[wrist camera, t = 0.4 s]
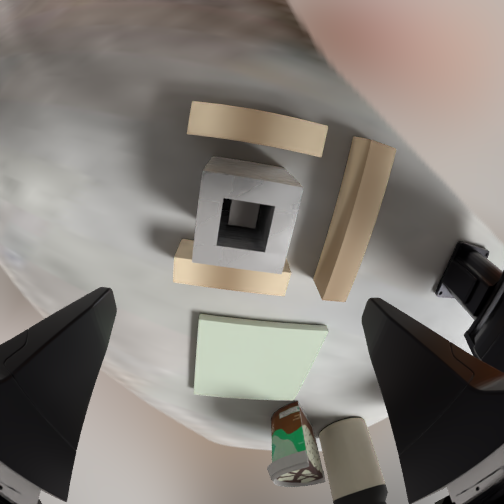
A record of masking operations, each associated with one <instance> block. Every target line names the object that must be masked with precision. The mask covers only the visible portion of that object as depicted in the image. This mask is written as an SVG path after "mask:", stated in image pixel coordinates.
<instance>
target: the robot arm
mask: <svg viewBox="0 0 504 504" xmlns="http://www.w3.org/2000/svg"><path fill="white" fill-rule="evenodd" d="M488 255H489V251H488V250H487V249H484V248H481V247H478V246H475V245H471V244H468V243H465V242H462V241H460V242H458V244H457V246H456V248H455V250H454V253H453V255H452V258H451V260H450V262H449V264H448V267H447V269H446V271H445V273H444V275H443V277H442V280H441V282H440V284H439V286H438V288H437V290H436V292H435V294H436V295H437V296H438V297H446V298H455V299H456V300H457V301H458V302H459V303H460V304H461V305H462V307H463V308H464V309H465V310H466V311H467V312H468V313H469V314H470V316H471V317H472V318H473V319H474V320H475V321H474V322H473V324H472V325H471V327H470V328H469V329H468V331H466V332H465V334H464V337H465V338H466V340H467V343H468V345H469V347H470V349H471V352H472V354H473V356H472V355H471V354H469V353H467V352H466V351H464V350H462V349H461V348H459V347H457V346H456V345H454V344H453V343H451V342H449V341H448V340H447V339H445V338H443V337H442V336H440V335H439V334H437V333H436V332H434V331H432V330H431V329H429V328H428V327H426V326H424V325H423V324H421V323H420V322H418V321H416V320H415V319H413V318H412V317H410V316H408V315H407V314H405V313H404V312H402V311H400V310H399V309H397V308H395V307H394V306H392V305H391V304H389V303H387V302H386V301H384V300H382V299H381V298H370V299H368V301H367V304H366V306H365V309H364V312H363V315H362V325H363V329H364V333H365V338H366V342H367V346H368V351H369V355H370V358H371V362H372V365H373V368H374V371H375V374H376V377H377V380H378V383H379V386H380V389H381V393H382V396H383V399H384V403H385V406H386V409H387V413H388V416H389V420H390V423H391V427H392V431H393V435H394V439H395V442H396V446H397V450H398V454H399V459H400V464H401V468H402V472H403V477H404V482H405V487H406V492H407V497H408V502H409V504H412V503H414V502H417V501H419V500H421V499H423V498H425V497H427V496H429V495H431V494H434V493H435V492H438V491H440V490H442V489H443V488H445V487H447V489H448V492H449V496H447V497H445V498H443V499H441V500H439V501H437V502H436V503H435V504H504V271H503V272H502V271H501V270H500V269H499V268H498V267H496V266H495V265H494V264H493V263H492V262H490V261H489V260H488V259H487V258H488ZM116 312H117V308H116V303H115V299H114V295H113V291H112V289H111V288H106V287H100V288H98V289H96V290H94V291H93V292H91V293H89V294H87V295H85V296H84V297H82V298H80V299H78V300H77V301H75V302H73V303H71V304H70V305H68V306H66V307H64V308H63V309H61V310H59V311H57V312H56V313H54V314H52V315H51V316H49V317H47V318H45V319H44V320H42V321H40V322H39V323H37V324H35V325H34V326H32V327H30V328H29V330H28V329H27V330H25V331H24V332H22V333H20V334H19V335H17V336H15V337H14V338H12V339H10V340H8V341H7V342H5V343H3V344H1V345H0V504H42V503H41V501H40V500H39V494H40V491H41V490H42V491H44V492H46V493H48V494H50V495H52V496H54V497H56V498H58V499H60V500H62V501H65V502H67V498H68V492H69V486H70V480H71V475H72V470H73V465H74V460H75V456H76V450H77V446H78V442H79V438H80V434H81V430H82V426H83V422H84V419H85V415H86V411H87V408H88V404H89V401H90V398H91V395H92V392H93V389H94V385H95V382H96V379H97V376H98V373H99V370H100V367H101V365H102V362H103V359H104V356H105V353H106V350H107V347H108V343H109V339H110V335H111V331H112V328H113V324H114V320H115V316H116Z"/></svg>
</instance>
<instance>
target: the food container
mask: <svg viewBox="0 0 504 504" xmlns="http://www.w3.org/2000/svg"><path fill="white" fill-rule="evenodd" d="M271 428H272V463H271V464H270V465H269V466H268V468H267V470H268V472H269V475H270V477H271V480H273V482H274V484H276V485H278V486H285V487H299V486H308V485H314V484H318V483H323V482H325V477H324V471H323V469H322V465H321V460H320V456H319V451H318V447H317V443H316V438H315V434H314V430H313V426H312V424H311V423H310V421H309V419H308V418H307V416H306V414H305V412H304V411H303V409H302V407H301V406H300V404H299V402H298V401H296V402H293V403H290V404H288V405H286V406H284V407H282V408H280V409H279V410H278V411H276V412H275V413H274V414H273V416H272V418H271Z"/></svg>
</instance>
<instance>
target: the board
mask: <svg viewBox="0 0 504 504" xmlns="http://www.w3.org/2000/svg"><path fill="white" fill-rule="evenodd" d="M327 333H328V328H327V326H325V325H308V324H294V323H281V322H269V321H259V320H249V319H240V318H231V317H222V316H214V315H207V314H200V316H199V325H198V337H197V350H196V364H195V379H194V394H195V395H203V396H212V397H223V398H235V399H251V400H294V399H295V397H296V395H297V393H298V392H299V390H300V388H301V386H302V384H303V382H304V380H305V378H306V376H307V374H308V373H309V371H310V369H311V367H312V365H313V363H314V361H315V359H316V357H317V355H318V352H319V350H320V348H321V346H322V344H323V342H324V340H325V338H326V336H327Z"/></svg>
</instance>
